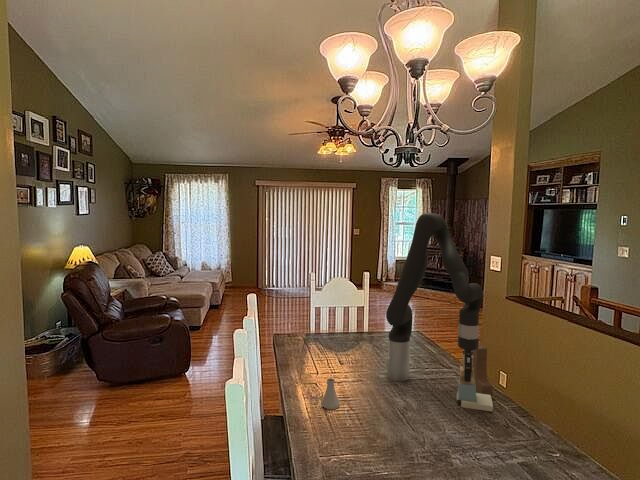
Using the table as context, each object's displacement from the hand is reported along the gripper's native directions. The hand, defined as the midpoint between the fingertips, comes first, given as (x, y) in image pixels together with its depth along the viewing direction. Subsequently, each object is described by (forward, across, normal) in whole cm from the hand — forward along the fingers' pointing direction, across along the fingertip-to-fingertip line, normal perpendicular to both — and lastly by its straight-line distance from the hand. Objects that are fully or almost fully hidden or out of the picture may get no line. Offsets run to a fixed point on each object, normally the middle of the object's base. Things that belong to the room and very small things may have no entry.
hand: (467, 377), depth 154 cm
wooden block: (+10, -12, +6) cm, 17 cm away
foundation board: (+10, 0, +4) cm, 10 cm away
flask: (+10, +20, -49) cm, 54 cm away
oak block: (+1, 0, 0) cm, 1 cm away
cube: (+7, 0, 0) cm, 7 cm away
